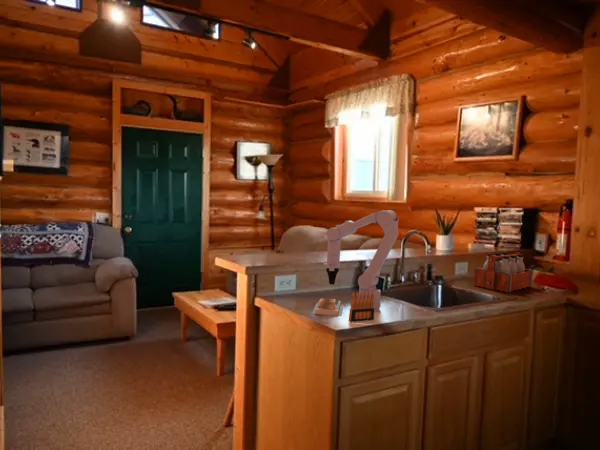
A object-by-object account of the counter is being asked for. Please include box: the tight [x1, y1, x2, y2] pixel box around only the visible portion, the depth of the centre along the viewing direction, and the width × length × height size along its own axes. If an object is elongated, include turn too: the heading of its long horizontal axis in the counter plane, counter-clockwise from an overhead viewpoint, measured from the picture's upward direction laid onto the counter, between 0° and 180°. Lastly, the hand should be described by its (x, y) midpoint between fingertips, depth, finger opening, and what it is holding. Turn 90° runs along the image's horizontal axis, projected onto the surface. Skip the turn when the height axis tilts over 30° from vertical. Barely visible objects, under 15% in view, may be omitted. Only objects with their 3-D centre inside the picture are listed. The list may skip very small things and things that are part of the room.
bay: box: [311, 298, 344, 317], centre depth 202 cm, size 12×18×2 cm, turn 172°
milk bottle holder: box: [472, 251, 534, 293], centre depth 276 cm, size 21×35×19 cm, turn 131°
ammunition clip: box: [348, 290, 375, 323], centre depth 188 cm, size 11×2×12 cm, turn 116°
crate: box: [319, 297, 337, 310], centre depth 197 cm, size 6×6×5 cm
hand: (331, 284), depth 215 cm, fingers closed
